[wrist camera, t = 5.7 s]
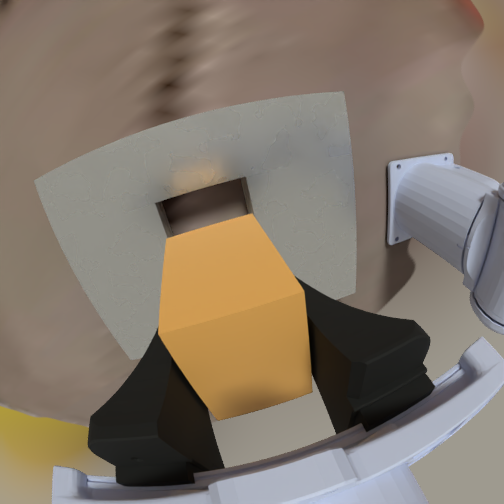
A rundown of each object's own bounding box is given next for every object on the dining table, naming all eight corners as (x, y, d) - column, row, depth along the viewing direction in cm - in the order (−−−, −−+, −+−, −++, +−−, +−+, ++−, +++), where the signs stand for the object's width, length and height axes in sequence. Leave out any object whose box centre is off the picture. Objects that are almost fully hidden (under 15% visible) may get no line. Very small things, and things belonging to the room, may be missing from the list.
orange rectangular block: (252, 213, 12) (304, 291, 7) (271, 304, 15) (312, 392, 10) (166, 238, 12) (158, 334, 7) (202, 325, 15) (217, 420, 9)
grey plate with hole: (325, 93, 16) (343, 91, 14) (341, 277, 24) (355, 292, 22) (50, 172, 14) (33, 180, 12) (133, 339, 22) (131, 360, 20)
